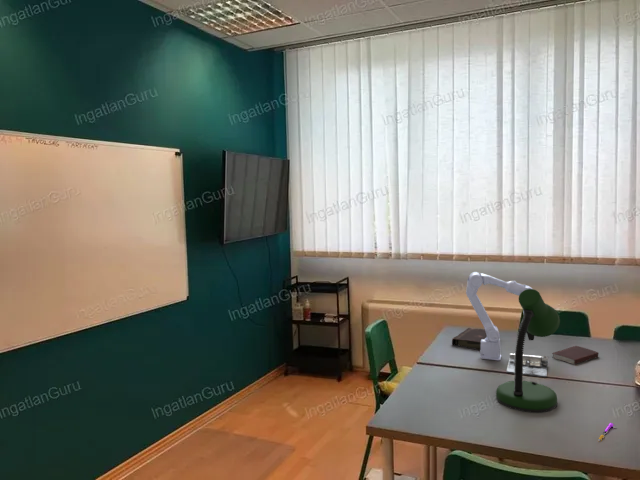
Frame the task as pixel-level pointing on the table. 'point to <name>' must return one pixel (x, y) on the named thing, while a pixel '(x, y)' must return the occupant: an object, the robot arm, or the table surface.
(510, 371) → the server tray
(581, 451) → the table surface
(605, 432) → the purple handled tool
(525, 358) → the cable arm
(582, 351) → the book
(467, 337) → the diary
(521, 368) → the desk lamp
